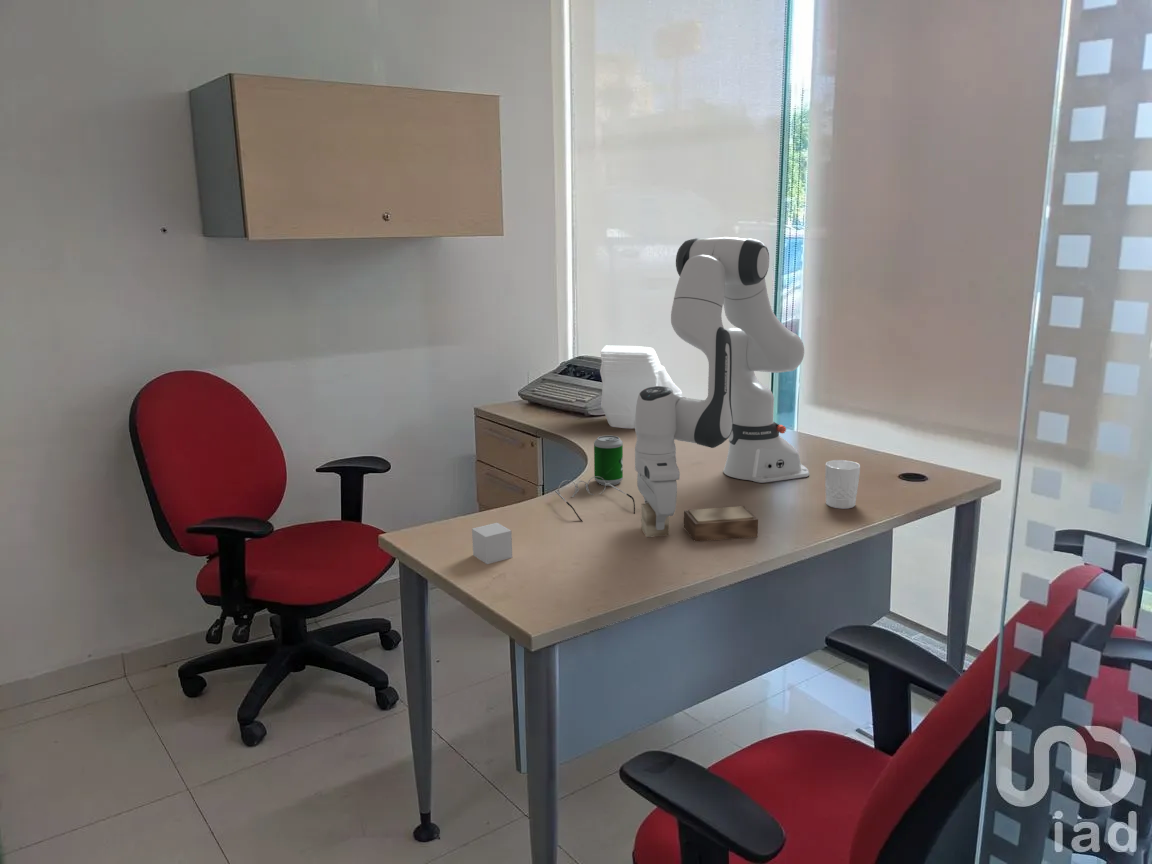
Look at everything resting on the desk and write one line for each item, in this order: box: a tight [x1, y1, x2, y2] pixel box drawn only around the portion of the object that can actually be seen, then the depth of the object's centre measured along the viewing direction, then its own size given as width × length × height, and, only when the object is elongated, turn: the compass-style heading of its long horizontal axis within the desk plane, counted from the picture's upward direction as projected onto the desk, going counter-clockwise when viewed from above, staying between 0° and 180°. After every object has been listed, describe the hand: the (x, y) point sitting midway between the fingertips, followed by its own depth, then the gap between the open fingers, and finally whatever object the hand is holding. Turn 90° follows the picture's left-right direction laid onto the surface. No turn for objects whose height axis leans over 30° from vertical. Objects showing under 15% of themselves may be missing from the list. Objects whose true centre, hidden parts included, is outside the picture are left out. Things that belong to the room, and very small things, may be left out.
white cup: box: [824, 459, 861, 510], centre depth 204 cm, size 8×8×10 cm
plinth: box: [683, 505, 759, 543], centre depth 188 cm, size 14×9×4 cm, turn 99°
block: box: [640, 502, 670, 538], centre depth 188 cm, size 5×5×6 cm
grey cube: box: [471, 522, 513, 565], centre depth 176 cm, size 6×6×6 cm
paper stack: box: [599, 344, 683, 429], centre depth 283 cm, size 21×27×26 cm
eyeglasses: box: [554, 476, 636, 523], centre depth 206 cm, size 16×19×5 cm
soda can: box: [593, 435, 624, 487], centre depth 224 cm, size 8×8×12 cm
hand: (654, 522), depth 189 cm, fingers open, 7 cm apart
